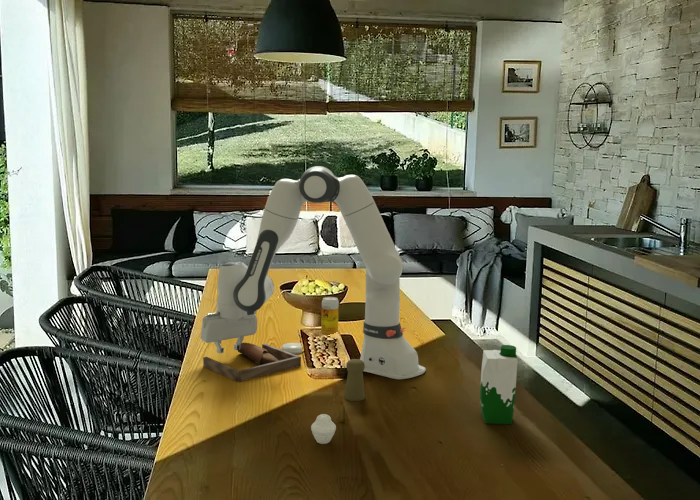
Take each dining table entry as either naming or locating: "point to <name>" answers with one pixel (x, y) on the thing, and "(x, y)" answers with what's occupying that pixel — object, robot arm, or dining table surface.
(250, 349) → the sunglasses case
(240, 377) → the open wooden frame
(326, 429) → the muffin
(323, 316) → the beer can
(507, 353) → the milk carton
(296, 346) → the ring dish
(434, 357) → the dining table surface
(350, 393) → the pepper mill
